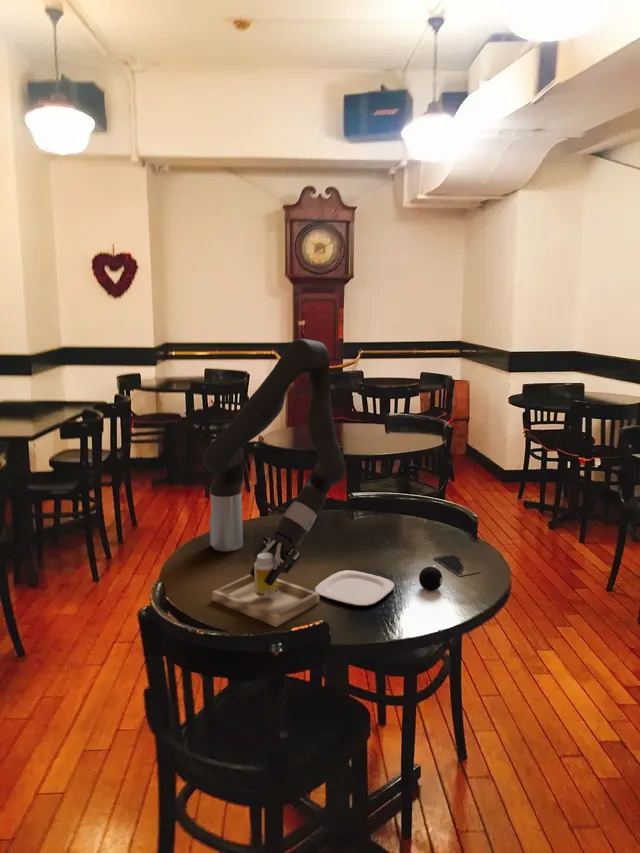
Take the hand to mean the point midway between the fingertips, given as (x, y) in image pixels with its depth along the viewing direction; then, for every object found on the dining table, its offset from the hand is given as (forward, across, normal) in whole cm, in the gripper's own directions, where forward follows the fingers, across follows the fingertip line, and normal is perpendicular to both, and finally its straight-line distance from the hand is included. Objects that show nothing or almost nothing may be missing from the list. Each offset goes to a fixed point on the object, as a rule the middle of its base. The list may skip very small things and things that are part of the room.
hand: (259, 579), depth 168 cm
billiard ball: (-22, +23, +32) cm, 45 cm away
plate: (-11, +10, +21) cm, 26 cm away
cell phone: (-34, +18, +44) cm, 59 cm away
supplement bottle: (+2, 0, +4) cm, 5 cm away
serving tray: (+3, 0, +6) cm, 7 cm away
